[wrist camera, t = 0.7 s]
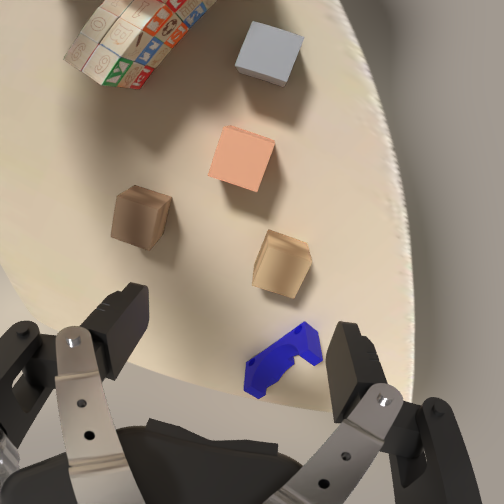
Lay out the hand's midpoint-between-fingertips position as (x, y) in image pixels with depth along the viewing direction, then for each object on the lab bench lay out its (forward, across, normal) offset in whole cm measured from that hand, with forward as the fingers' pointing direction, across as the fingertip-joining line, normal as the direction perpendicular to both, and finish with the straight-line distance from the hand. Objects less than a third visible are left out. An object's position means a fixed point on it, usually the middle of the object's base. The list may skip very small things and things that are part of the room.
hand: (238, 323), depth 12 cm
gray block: (+23, +2, -16) cm, 28 cm away
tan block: (+23, +14, +3) cm, 27 cm away
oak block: (+24, -3, +6) cm, 25 cm away
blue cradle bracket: (+26, -7, +22) cm, 34 cm away
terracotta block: (+23, +3, -5) cm, 24 cm away
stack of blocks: (+22, +13, -22) cm, 34 cm away
